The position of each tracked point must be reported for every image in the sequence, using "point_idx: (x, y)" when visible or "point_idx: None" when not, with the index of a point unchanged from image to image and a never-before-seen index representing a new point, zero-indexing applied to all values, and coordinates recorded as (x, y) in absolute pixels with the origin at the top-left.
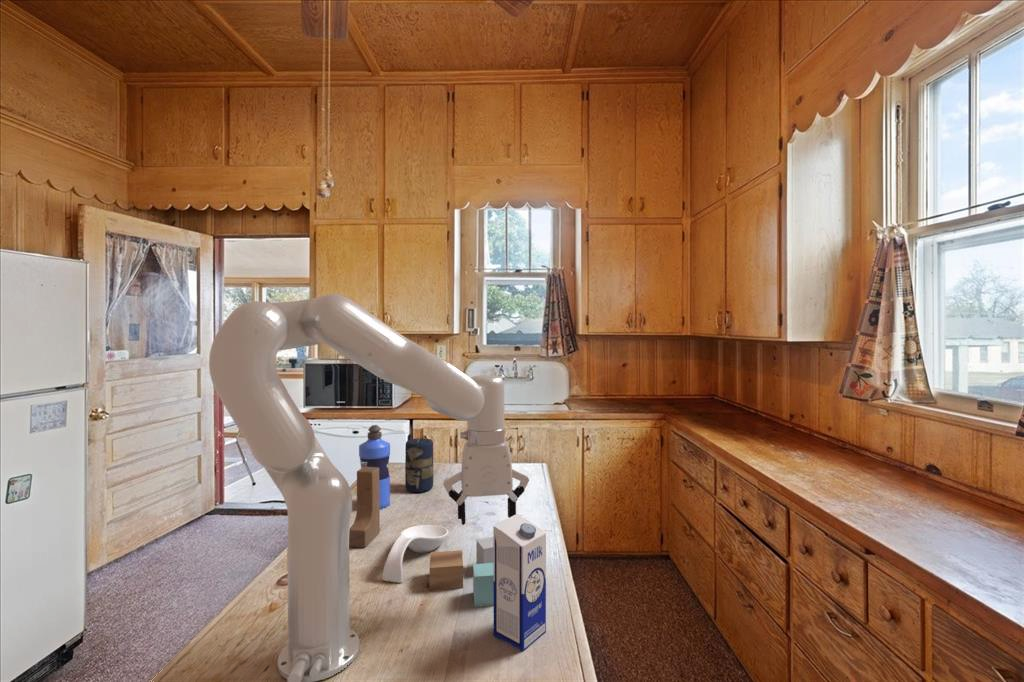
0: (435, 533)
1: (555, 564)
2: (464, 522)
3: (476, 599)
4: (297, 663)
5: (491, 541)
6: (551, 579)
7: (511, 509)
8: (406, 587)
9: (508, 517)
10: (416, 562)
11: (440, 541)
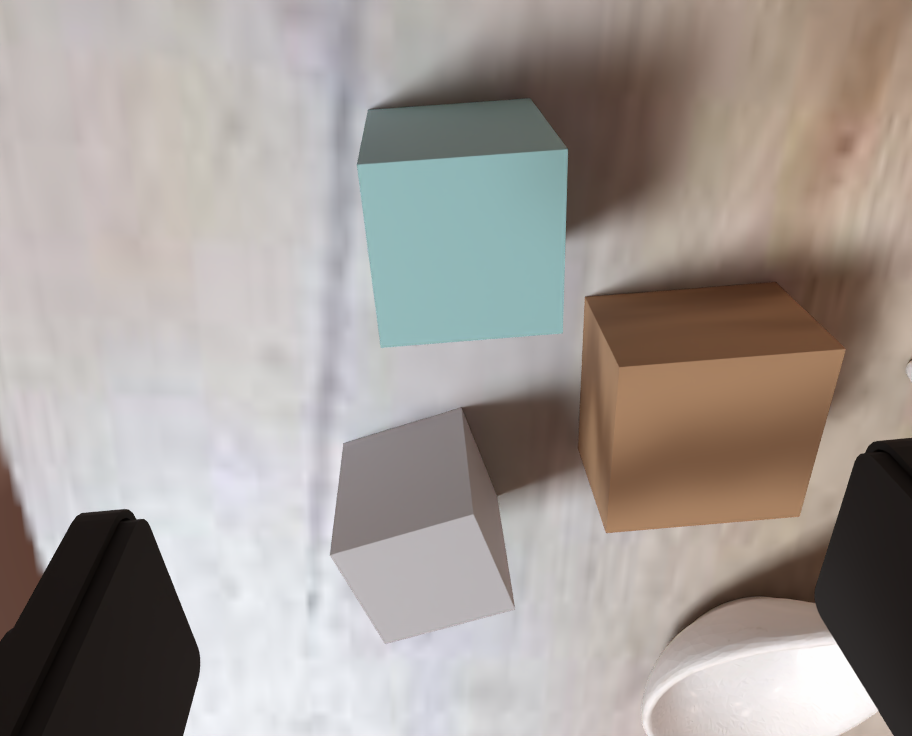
0: (690, 713)
1: (51, 492)
2: (892, 463)
3: (524, 109)
4: None
5: (418, 592)
6: (55, 356)
7: (15, 690)
8: (892, 318)
9: (180, 612)
10: (798, 525)
11: (688, 645)
